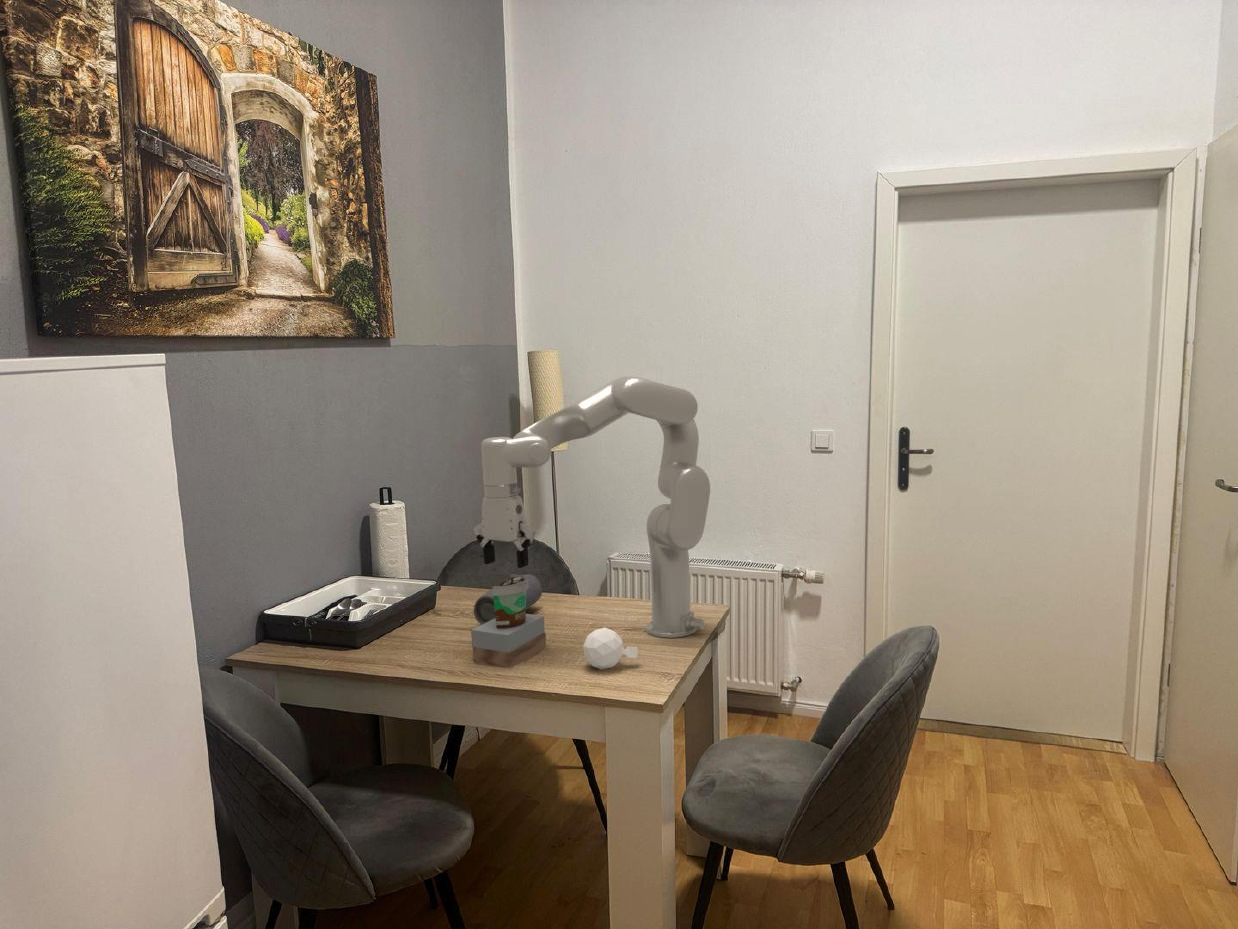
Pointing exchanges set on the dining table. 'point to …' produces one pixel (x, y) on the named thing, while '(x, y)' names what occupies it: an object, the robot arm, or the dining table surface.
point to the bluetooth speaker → (485, 603)
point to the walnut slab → (509, 653)
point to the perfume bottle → (606, 648)
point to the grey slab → (507, 634)
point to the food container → (510, 601)
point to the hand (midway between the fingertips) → (506, 564)
